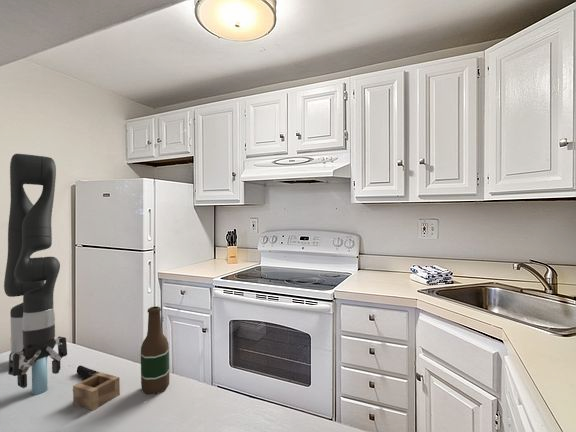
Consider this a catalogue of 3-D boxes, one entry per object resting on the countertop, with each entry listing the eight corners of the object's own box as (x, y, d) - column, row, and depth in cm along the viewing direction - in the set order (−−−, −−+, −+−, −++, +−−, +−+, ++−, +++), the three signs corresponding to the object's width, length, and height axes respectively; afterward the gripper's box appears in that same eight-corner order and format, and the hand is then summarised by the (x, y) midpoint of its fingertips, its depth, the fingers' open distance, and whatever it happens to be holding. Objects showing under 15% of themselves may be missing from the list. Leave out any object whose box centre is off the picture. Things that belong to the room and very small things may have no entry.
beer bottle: (141, 384, 96) (140, 305, 96) (168, 379, 99) (167, 302, 99) (140, 398, 89) (139, 313, 89) (170, 391, 92) (168, 309, 92)
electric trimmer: (85, 372, 106) (85, 362, 106) (112, 383, 98) (111, 373, 98) (73, 377, 103) (73, 367, 103) (99, 389, 95) (99, 378, 95)
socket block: (73, 403, 87) (73, 385, 87) (100, 389, 94) (100, 372, 94) (93, 410, 84) (92, 391, 84) (119, 394, 91) (119, 377, 91)
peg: (29, 393, 93) (28, 358, 93) (42, 386, 96) (42, 353, 96) (36, 395, 91) (36, 360, 91) (50, 389, 95) (49, 355, 95)
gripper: (56, 316, 102) (57, 367, 102) (2, 331, 89) (3, 389, 88) (71, 318, 99) (72, 371, 99) (18, 335, 86) (19, 395, 85)
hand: (40, 379), depth 94 cm, fingers open, 8 cm apart
